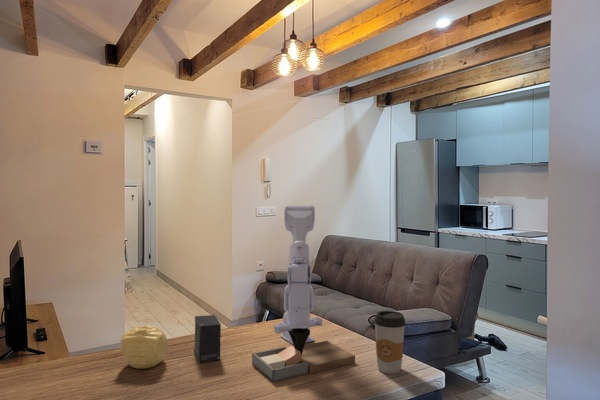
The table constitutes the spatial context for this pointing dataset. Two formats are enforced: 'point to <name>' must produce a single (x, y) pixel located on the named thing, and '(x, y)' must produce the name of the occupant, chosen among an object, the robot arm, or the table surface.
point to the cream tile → (274, 361)
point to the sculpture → (144, 346)
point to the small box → (207, 338)
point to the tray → (281, 372)
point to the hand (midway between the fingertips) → (298, 354)
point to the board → (325, 356)
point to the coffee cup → (389, 340)
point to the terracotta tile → (290, 356)
